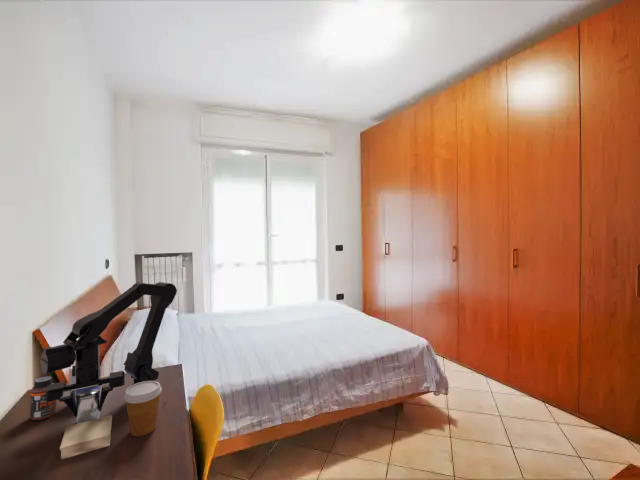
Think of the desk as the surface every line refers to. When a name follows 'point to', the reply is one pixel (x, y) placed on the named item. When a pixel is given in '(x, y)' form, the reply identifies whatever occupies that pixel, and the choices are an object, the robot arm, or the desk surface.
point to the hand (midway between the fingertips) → (88, 413)
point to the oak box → (86, 437)
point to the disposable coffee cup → (142, 406)
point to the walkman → (73, 381)
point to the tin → (87, 405)
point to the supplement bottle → (41, 400)
